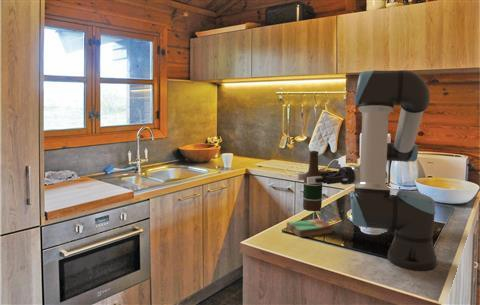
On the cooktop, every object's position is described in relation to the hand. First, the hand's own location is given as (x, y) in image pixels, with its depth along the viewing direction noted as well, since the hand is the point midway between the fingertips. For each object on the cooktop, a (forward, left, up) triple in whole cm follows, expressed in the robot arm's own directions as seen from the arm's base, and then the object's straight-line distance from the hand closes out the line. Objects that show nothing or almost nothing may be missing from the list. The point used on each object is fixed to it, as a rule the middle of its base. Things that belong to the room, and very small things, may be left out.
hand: (302, 178), depth 158 cm
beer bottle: (0, -5, -13) cm, 14 cm away
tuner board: (0, -4, -22) cm, 22 cm away
